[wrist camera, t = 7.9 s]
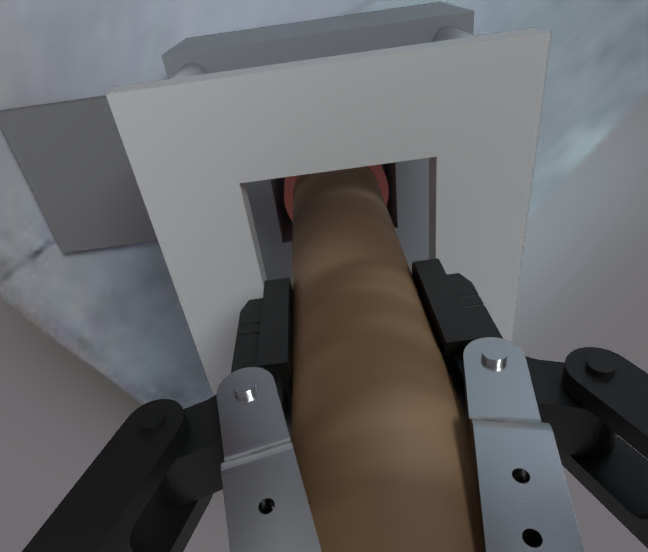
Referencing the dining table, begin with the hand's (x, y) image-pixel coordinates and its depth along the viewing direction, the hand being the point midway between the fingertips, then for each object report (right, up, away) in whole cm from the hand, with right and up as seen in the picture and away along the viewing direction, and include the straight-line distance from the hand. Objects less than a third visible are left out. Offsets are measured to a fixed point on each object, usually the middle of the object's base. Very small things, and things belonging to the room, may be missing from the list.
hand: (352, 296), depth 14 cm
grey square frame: (-1, +8, +12) cm, 14 cm away
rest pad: (-13, +6, +12) cm, 18 cm away
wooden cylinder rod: (0, +4, +6) cm, 7 cm away
